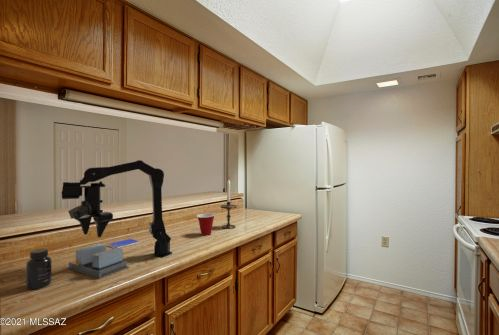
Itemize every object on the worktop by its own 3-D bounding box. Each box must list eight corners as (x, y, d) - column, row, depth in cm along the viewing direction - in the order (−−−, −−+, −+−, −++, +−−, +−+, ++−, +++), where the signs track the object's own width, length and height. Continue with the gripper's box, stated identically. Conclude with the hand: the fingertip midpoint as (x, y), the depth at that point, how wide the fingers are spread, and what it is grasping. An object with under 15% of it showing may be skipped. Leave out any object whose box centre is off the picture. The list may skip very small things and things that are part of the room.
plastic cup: (195, 232, 166) (195, 213, 165) (213, 231, 169) (213, 212, 169) (197, 237, 155) (197, 216, 155) (216, 235, 159) (216, 215, 158)
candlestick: (237, 228, 176) (238, 175, 176) (221, 229, 174) (221, 175, 174) (235, 225, 187) (235, 174, 187) (219, 225, 185) (219, 174, 184)
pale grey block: (99, 259, 117) (99, 243, 116) (105, 261, 115) (105, 244, 115) (75, 267, 108) (75, 249, 108) (81, 269, 106) (81, 251, 106)
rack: (98, 259, 119) (98, 242, 119) (129, 267, 109) (129, 249, 109) (67, 268, 108) (67, 249, 107) (99, 278, 98) (99, 258, 98)
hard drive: (116, 246, 133) (138, 240, 144) (107, 243, 138) (129, 238, 148) (116, 249, 133) (138, 243, 144) (107, 246, 138) (129, 241, 148)
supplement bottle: (21, 288, 90) (21, 252, 90) (43, 280, 97) (43, 246, 97) (34, 291, 88) (34, 254, 88) (56, 283, 94) (56, 248, 94)
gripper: (58, 198, 109) (58, 237, 109) (86, 201, 100) (86, 244, 100) (86, 196, 119) (86, 231, 119) (113, 198, 110) (113, 237, 110)
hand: (92, 235), depth 112 cm, fingers open, 9 cm apart
